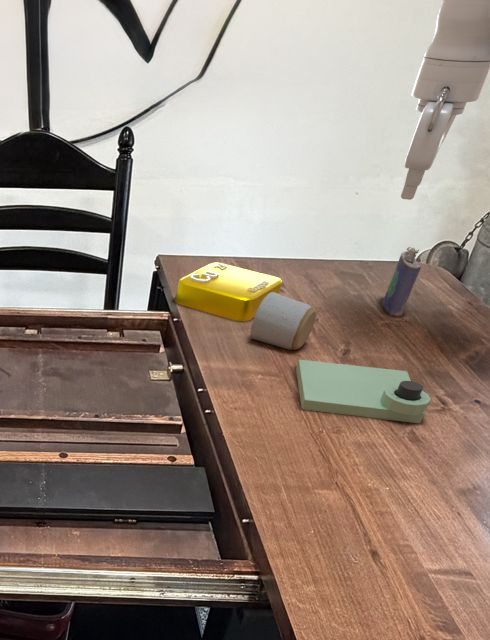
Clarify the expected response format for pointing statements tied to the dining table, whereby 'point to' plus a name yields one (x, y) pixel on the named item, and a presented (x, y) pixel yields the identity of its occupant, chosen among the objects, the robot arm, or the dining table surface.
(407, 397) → the button
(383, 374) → the green base with knob
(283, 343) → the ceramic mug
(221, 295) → the element tile
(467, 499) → the dining table surface
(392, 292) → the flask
